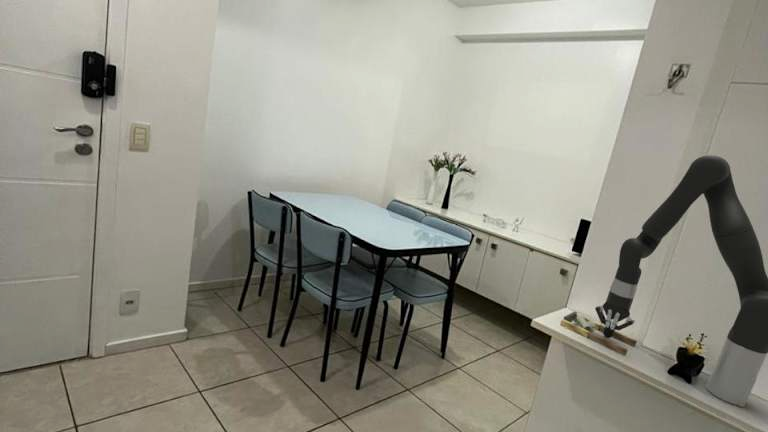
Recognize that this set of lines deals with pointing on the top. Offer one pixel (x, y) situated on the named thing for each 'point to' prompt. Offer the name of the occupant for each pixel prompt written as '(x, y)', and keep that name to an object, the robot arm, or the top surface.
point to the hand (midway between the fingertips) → (606, 337)
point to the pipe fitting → (585, 323)
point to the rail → (567, 323)
